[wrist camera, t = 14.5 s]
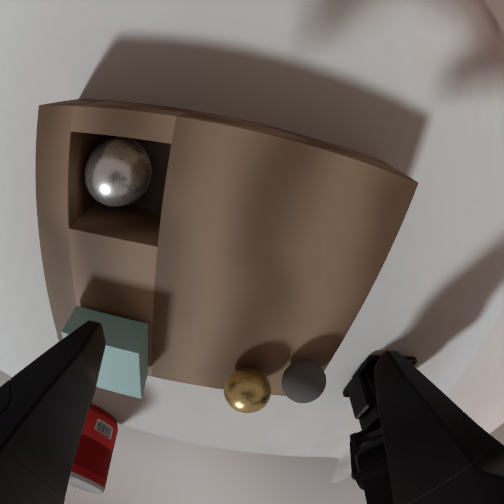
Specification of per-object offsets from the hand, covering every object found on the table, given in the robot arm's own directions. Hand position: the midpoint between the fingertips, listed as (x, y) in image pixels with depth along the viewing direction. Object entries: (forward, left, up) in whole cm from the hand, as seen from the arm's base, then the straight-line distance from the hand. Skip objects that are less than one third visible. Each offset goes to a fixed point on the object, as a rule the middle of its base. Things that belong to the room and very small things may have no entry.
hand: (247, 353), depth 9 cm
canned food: (+14, +33, -12) cm, 38 cm away
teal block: (+7, +9, -7) cm, 14 cm away
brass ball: (-2, +10, -6) cm, 12 cm away
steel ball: (+8, -1, -10) cm, 13 cm away
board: (+2, +4, -12) cm, 13 cm away
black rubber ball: (-6, +9, -6) cm, 12 cm away
